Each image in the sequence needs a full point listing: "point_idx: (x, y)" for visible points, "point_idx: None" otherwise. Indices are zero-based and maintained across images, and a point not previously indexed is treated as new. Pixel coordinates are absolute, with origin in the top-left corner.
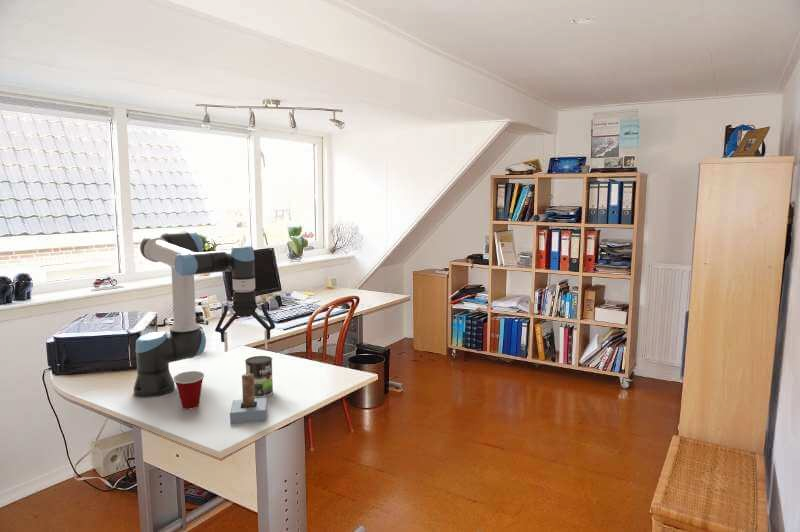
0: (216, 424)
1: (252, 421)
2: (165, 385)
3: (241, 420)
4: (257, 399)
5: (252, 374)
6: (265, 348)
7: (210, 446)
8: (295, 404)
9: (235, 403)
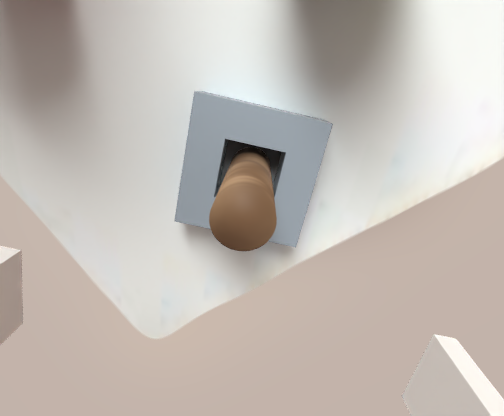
0: (141, 190)
1: None
2: None
3: None
4: (292, 130)
5: (271, 218)
6: (409, 406)
7: (127, 319)
8: (430, 134)
9: (201, 135)
